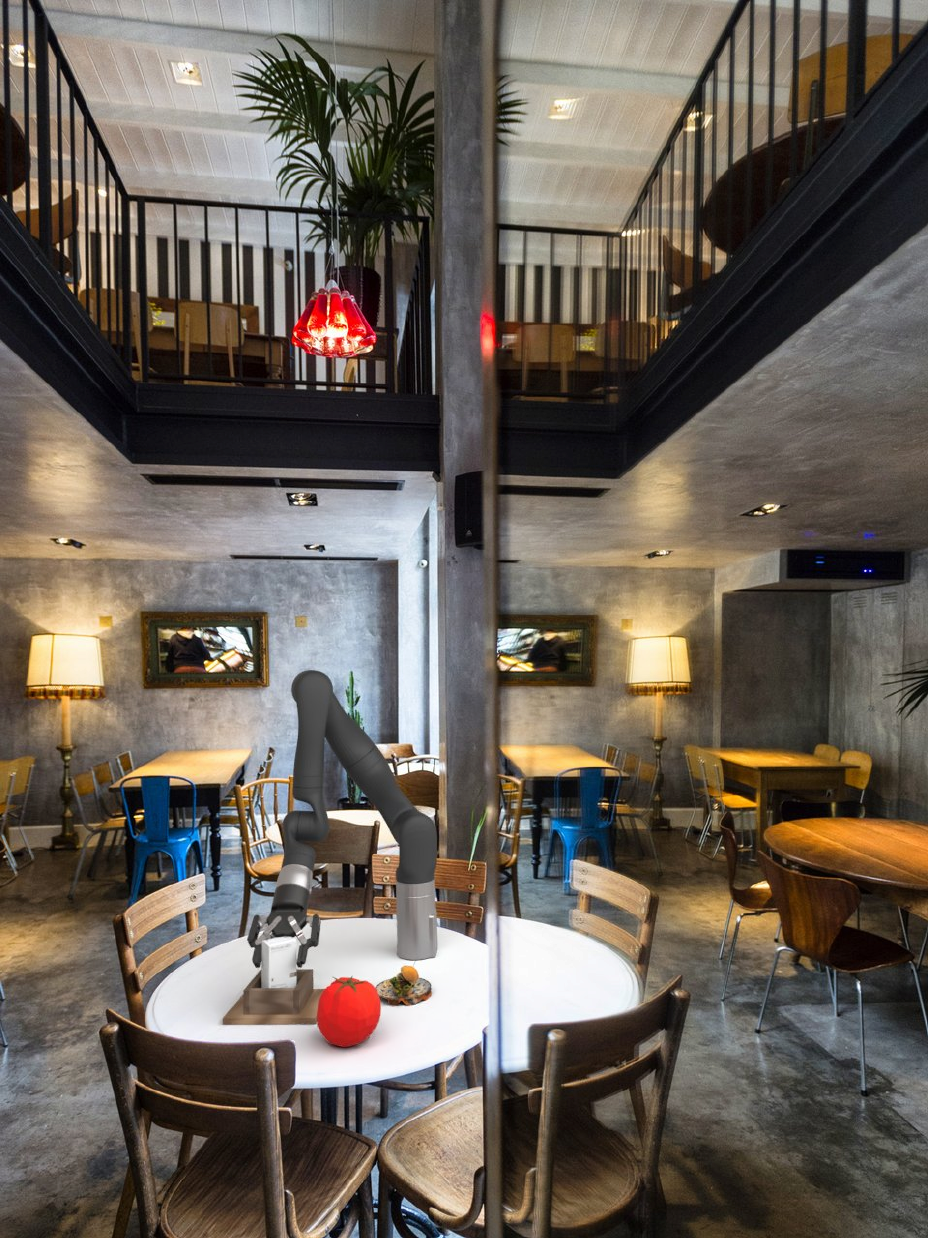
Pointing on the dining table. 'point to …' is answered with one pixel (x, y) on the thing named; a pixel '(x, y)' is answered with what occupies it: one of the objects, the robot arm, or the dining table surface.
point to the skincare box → (278, 963)
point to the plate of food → (405, 988)
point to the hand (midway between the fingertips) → (278, 966)
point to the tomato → (348, 1011)
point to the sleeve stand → (276, 1003)
